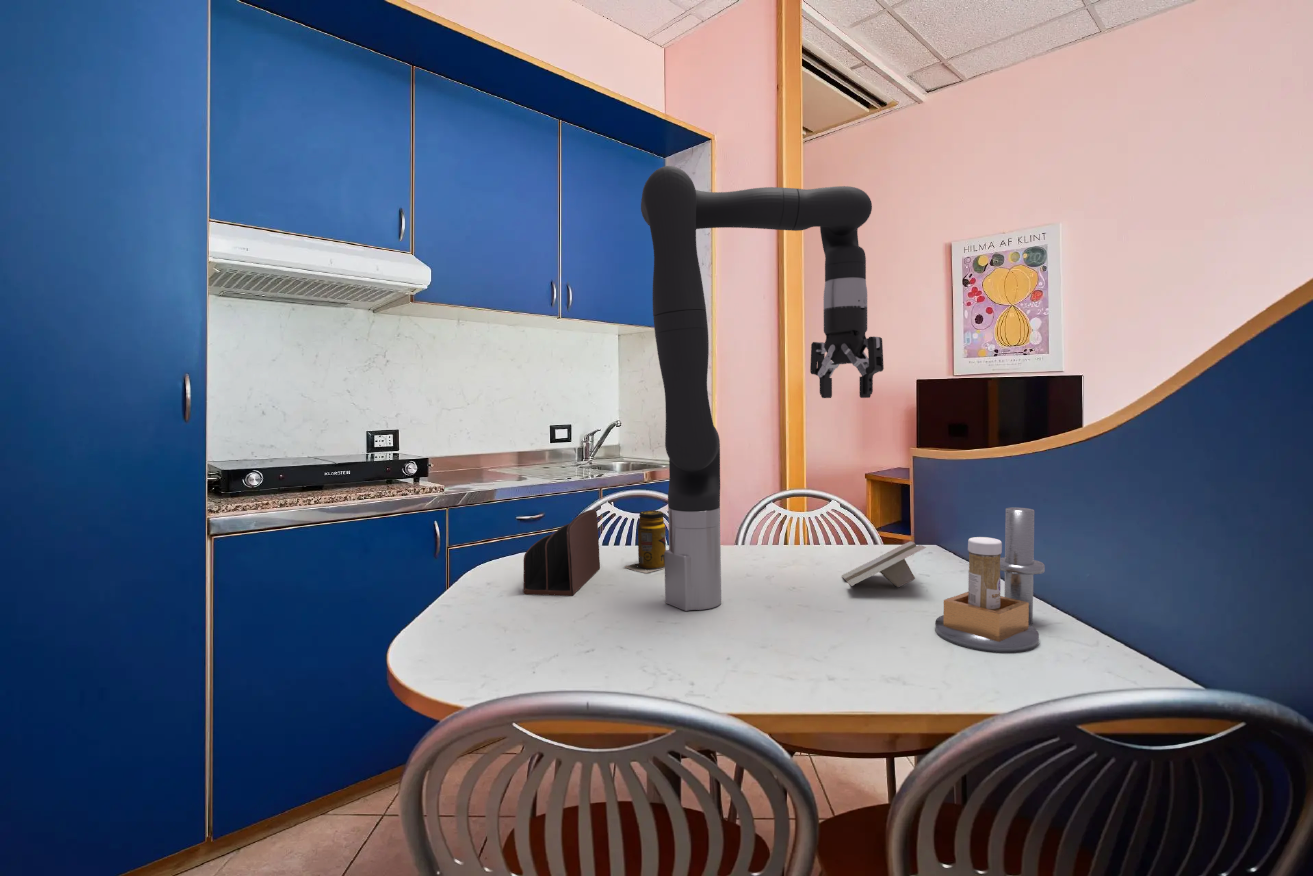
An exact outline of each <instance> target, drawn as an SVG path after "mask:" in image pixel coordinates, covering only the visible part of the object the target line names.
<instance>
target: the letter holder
mask: <svg viewBox="0 0 1313 876" xmlns="http://www.w3.org/2000/svg"><path fill="white" fill-rule="evenodd" d="M598 522H599V521H598V512H597V510H595V509H589V510H586V511H583V512H582V513H580V514H578V515H577V516H576V517H575V518H574V519H573V520H572V521H571V522H570V523H567V524H565V525H563V526H561V527H560V528H558V529H557V530H556V531H554V533H551V534H548V535H546V536H544V537H542V538H541V539H539V540H538V541H536V542H535V543H534V544H533V545H531V546H530V547H529V548H528V550H527V551H525V553H524V555H523V591H522V592H523V595H526V596H527V595H533V596H554V597H555V596H556V597H563V596H564V597H573V596H574V595H575V594H576V593H577V592H578V591H579V590H580V589H581V588H583V586H584V585H585V584H586V583H587V582H588V581H589V580H590V579H592V577H593V576H594V575H596V573H597V572H599V571H600V569H601V564H600V563H601V562H600V561H601V560H600V559H601V558H600V540H599V539H600V538H599V523H598Z"/></svg>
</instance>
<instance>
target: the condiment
mask: <svg viewBox="0 0 1313 876" xmlns="http://www.w3.org/2000/svg"><path fill="white" fill-rule="evenodd" d="M638 521H639V523H638V525H637V549H638V550H637V551H638V556H637V557H638V563H633V564H629V565H625V566H623V567H624V568H626V569H629V570H632V571H635V572H640V573H644V574H649V573H653V572H656V571H659V570H665V559H664V552H665V551H666V550H667V548H666V546H667V544H666V525H665V523H664V521H665V520H664V512H663V511H661V510H645V511H641V512H639V519H638Z"/></svg>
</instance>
